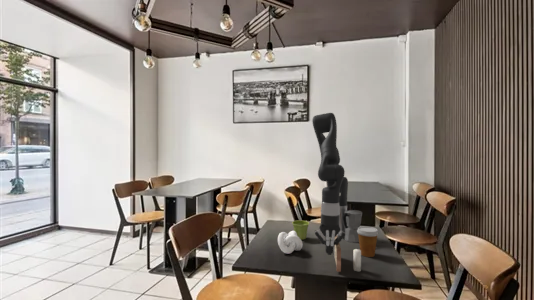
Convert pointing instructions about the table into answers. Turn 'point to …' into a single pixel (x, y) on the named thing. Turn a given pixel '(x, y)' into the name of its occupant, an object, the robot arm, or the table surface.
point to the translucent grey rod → (334, 247)
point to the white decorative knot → (289, 242)
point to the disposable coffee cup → (367, 240)
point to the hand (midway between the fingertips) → (329, 254)
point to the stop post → (357, 260)
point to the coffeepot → (352, 224)
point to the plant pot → (301, 228)
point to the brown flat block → (338, 256)
